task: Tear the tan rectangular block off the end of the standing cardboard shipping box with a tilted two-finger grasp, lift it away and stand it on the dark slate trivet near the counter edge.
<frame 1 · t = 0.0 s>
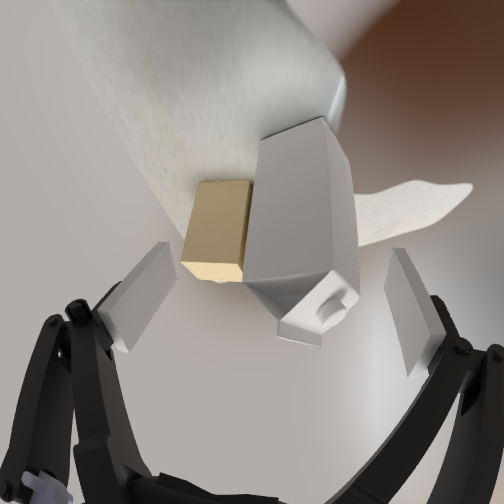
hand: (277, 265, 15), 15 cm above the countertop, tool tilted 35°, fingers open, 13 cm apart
tan rectangular block: (229, 194, 36), on the countertop
milk carton: (306, 148, 27), on the countertop
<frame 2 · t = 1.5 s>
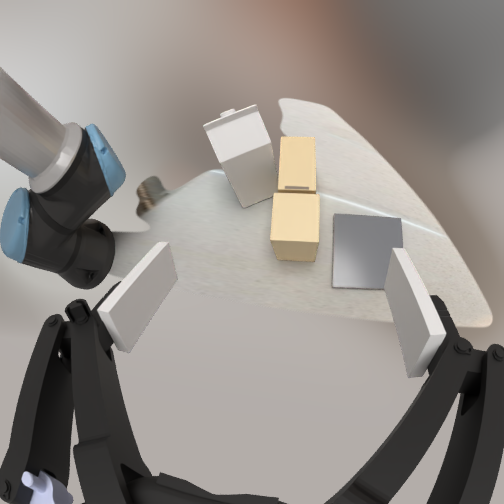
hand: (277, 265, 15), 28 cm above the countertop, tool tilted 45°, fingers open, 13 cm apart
cardboard shipping box: (299, 196, 46), on the countertop
trivet: (368, 252, 42), on the countertop
tan rectangular block: (297, 241, 44), on the countertop
milk carton: (255, 185, 49), on the countertop
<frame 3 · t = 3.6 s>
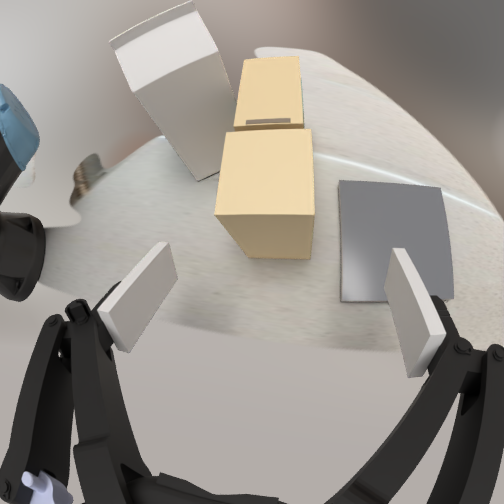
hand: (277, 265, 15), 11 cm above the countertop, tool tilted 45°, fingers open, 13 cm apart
cardboard shipping box: (282, 158, 29), on the countertop
trivet: (396, 241, 25), on the countertop
tan rectangular block: (280, 227, 27), on the countertop
milk carton: (217, 149, 31), on the countertop
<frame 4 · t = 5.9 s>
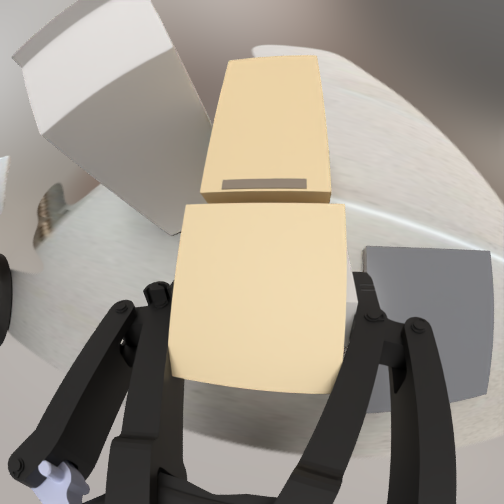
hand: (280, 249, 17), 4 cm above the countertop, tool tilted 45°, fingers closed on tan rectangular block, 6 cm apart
cardboard shipping box: (286, 206, 21), on the countertop
trivet: (432, 328, 17), on the countertop
tan rectangular block: (280, 311, 19), on the countertop, touching gripper
milk carton: (197, 187, 24), on the countertop
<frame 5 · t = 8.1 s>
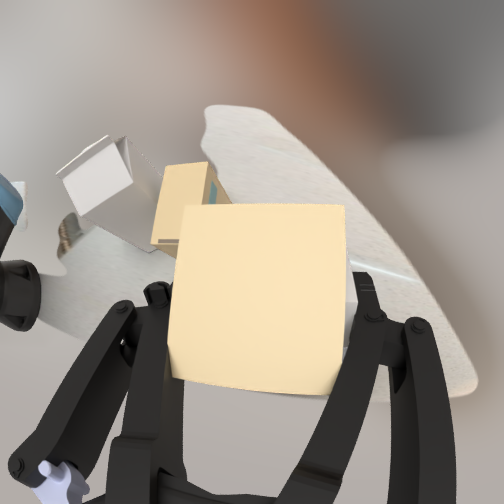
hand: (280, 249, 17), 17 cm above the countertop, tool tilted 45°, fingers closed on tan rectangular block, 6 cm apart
cardboard shipping box: (212, 235, 37), on the countertop
tan rectangular block: (280, 311, 19), point 14 cm above the countertop, touching gripper
milk carton: (163, 223, 39), on the countertop
when the fingers open (6 cm above the countertop, at t = 10.6 s): tan rectangular block stays where it is, resting on trivet.
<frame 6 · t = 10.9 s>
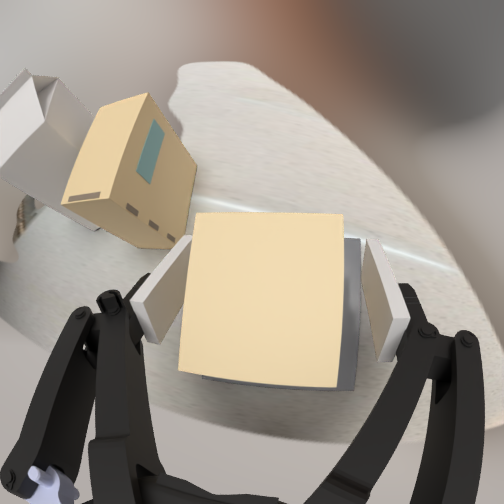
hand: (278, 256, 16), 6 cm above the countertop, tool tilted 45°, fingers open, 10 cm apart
cardboard shipping box: (167, 205, 26), on the countertop
trivet: (283, 312, 21), on the countertop
tan rectangular block: (282, 311, 20), point 1 cm above the countertop, touching trivet
milk carton: (114, 194, 29), on the countertop
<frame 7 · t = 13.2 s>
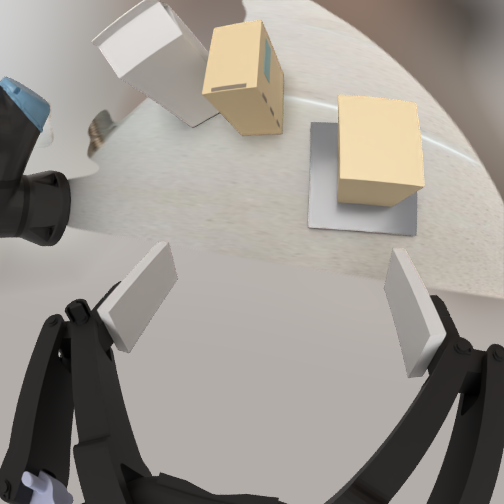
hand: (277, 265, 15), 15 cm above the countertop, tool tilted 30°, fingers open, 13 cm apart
cardboard shipping box: (263, 103, 30), on the countertop
trivet: (363, 177, 27), on the countertop
tan rectangular block: (365, 174, 26), point 1 cm above the countertop, touching trivet
milk carton: (208, 98, 33), on the countertop
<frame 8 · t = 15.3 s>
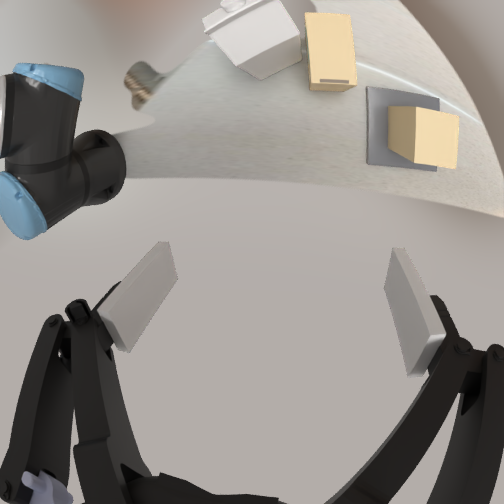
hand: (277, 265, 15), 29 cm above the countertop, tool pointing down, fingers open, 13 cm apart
cardboard shipping box: (324, 62, 31), on the countertop
trivet: (403, 129, 33), on the countertop
tan rectangular block: (406, 129, 32), point 1 cm above the countertop, touching trivet
milk carton: (269, 52, 32), on the countertop
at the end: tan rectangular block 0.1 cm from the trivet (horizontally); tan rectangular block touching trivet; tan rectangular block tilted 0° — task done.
